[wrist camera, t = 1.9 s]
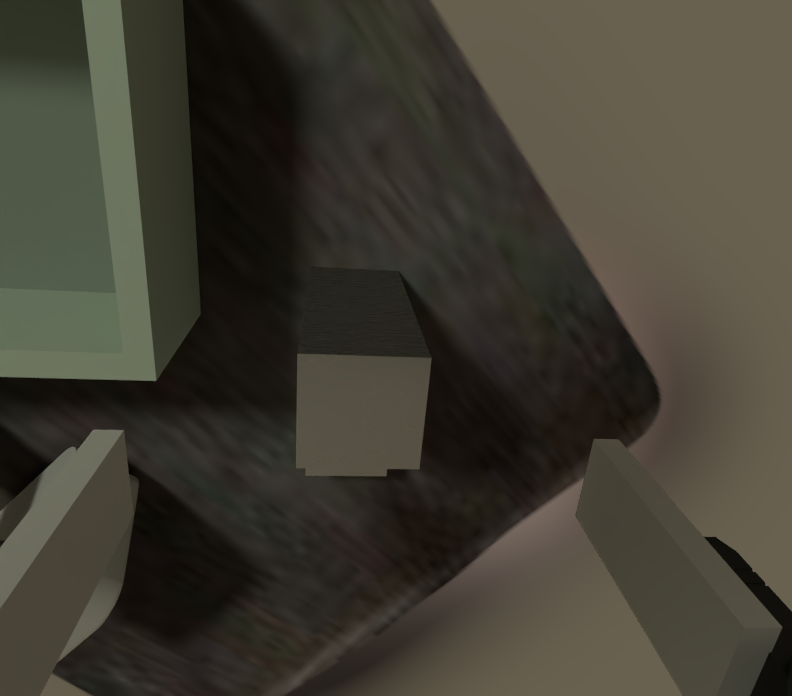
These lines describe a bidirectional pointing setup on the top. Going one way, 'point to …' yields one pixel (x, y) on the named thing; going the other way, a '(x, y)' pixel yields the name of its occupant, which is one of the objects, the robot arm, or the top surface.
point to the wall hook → (113, 576)
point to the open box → (95, 189)
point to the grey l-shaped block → (360, 375)
